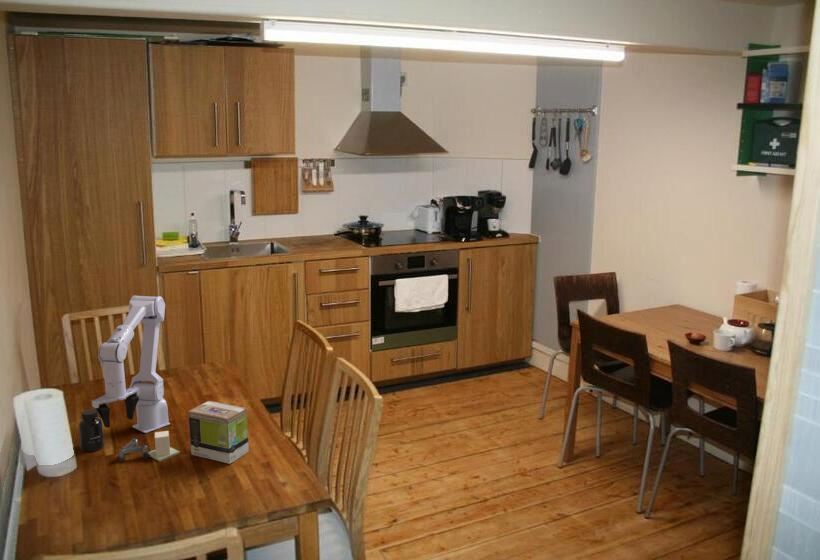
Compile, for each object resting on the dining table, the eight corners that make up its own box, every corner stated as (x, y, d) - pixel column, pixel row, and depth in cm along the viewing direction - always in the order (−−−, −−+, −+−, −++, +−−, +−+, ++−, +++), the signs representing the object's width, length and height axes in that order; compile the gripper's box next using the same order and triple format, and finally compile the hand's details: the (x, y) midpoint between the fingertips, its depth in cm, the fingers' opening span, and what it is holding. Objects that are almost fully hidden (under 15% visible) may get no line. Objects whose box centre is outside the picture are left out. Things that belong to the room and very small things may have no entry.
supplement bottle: (95, 453, 230) (92, 417, 227) (76, 451, 231) (72, 415, 228) (108, 443, 236) (105, 408, 233) (89, 441, 238) (86, 406, 235)
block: (156, 450, 231) (154, 432, 229) (169, 448, 232) (168, 430, 230) (156, 456, 227) (154, 437, 225) (170, 454, 228) (168, 436, 227)
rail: (136, 448, 233) (135, 438, 232) (151, 456, 228) (150, 445, 227) (113, 457, 227) (112, 446, 226) (128, 465, 222) (127, 454, 221)
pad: (166, 446, 234) (166, 445, 234) (179, 453, 230) (179, 451, 230) (146, 454, 229) (146, 453, 229) (159, 461, 225) (159, 459, 224)
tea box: (250, 451, 232) (247, 407, 228) (229, 465, 223) (227, 419, 219) (211, 442, 238) (208, 398, 234) (189, 455, 229) (186, 410, 225)
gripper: (99, 390, 217) (103, 434, 220) (143, 377, 228) (147, 418, 231) (86, 385, 221) (91, 427, 225) (131, 372, 232) (134, 412, 236)
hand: (118, 422), depth 228 cm, fingers open, 7 cm apart
